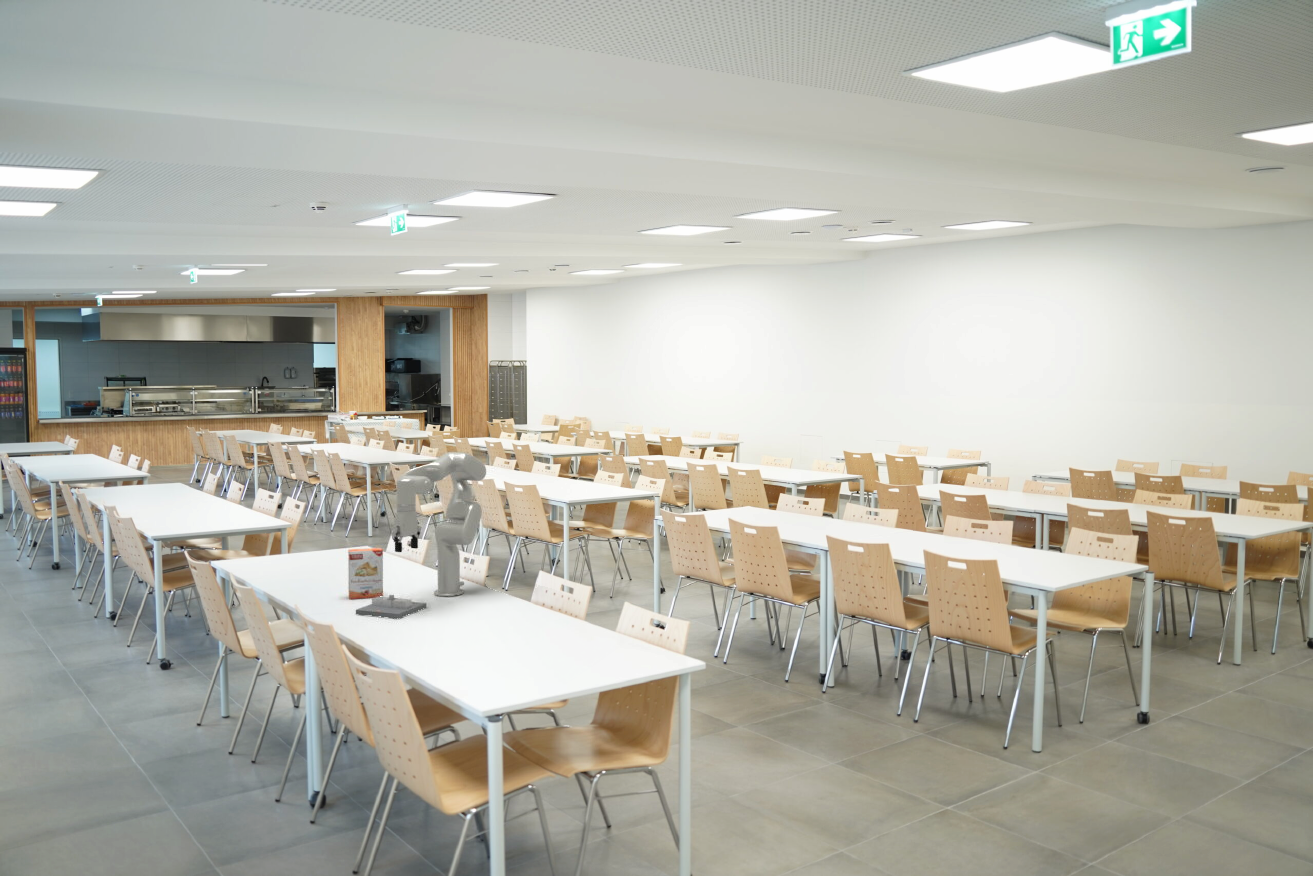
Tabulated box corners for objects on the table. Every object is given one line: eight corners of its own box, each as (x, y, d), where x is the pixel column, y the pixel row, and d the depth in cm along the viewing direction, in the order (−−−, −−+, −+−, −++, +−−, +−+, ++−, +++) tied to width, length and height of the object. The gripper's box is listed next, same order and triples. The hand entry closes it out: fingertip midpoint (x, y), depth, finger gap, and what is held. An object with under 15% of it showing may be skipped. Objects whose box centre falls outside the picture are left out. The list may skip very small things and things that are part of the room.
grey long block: (378, 603, 404) (378, 596, 404) (412, 606, 399) (412, 599, 399) (371, 606, 399) (371, 598, 399) (405, 609, 394) (405, 602, 394)
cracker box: (349, 599, 419) (349, 551, 418) (348, 596, 424) (347, 548, 423) (383, 597, 424) (383, 549, 423) (381, 594, 430) (381, 547, 428)
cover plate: (384, 603, 412) (384, 588, 411) (426, 607, 405) (426, 592, 405) (355, 614, 393) (355, 598, 393) (398, 619, 387) (398, 602, 386)
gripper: (412, 505, 410) (413, 546, 411) (384, 510, 395) (384, 552, 396) (427, 506, 407) (427, 547, 408) (399, 511, 391) (399, 554, 392)
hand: (406, 550), depth 402 cm, fingers open, 9 cm apart
